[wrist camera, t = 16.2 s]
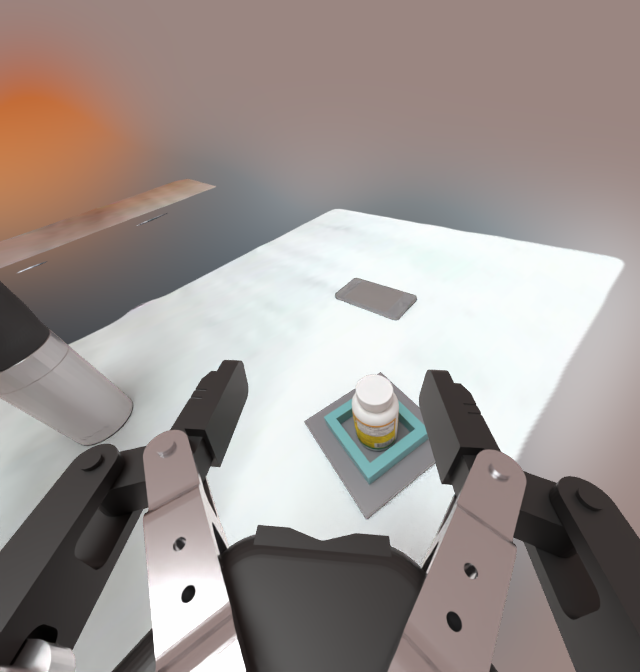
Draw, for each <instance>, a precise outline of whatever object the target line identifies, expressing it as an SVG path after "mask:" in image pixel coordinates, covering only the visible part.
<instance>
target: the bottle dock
mask: <svg viewBox="0 0 640 672" xmlns="http://www.w3.org/2000/svg"><path fill="white" fill-rule="evenodd" d="M377 375H380V376H383V377H385V376H384V375H383V374H382V373H381V372H380V373H379V374H377ZM385 378H386V377H385ZM386 379H387V378H386ZM388 380H389V379H388ZM389 381H390V380H389ZM390 383H391V384H392V386H393V392H394V393H395V395H396V397H397V399H398V402H399V413H398V429H397V438H396V440H395V442H394V444H393V445H392V446H391V447H390V448H388V449H386V450H383V451H373V450H370V449H368V448H366V447H364V446H363V445H362V444H361V443H360V442H359V440H358V438H357V435H356V430H355V424H354V418H353V411H352V398H353V396H354V394H355V392H356V388H355V389H354V390H352V391H351V392H349V393H348V394H346V395H344V396H343V397H341V398H340V399H338V400H337V401H335V402H334V403H332V404H330V405H329V406H327V407H326V408H324V409H323V410H321V411H320V412H318V413H317V414H315V415H313V416H312V417H310V418H309V419H307V420H306V421H304V422H305V424H306V426H307V427H308V429H309V430H310V432H311V433H312V435H313V437H314V438H315V440H316V441H317V443H318V444H319V446H320V448H321V449H322V451H323V452H324V454H325V455H326V457H327V459H328V460H329V462H330V463H331V465H332V466H333V468H334V469H335V471H336V473H337V474H338V476H339V477H340V479H341V480H342V482H343V484H344V485H345V487H346V488H347V490H348V491H349V493H350V495H351V496H352V498H353V499H354V501H355V502H356V504H357V505H358V507H359V509H360V510H361V512H362V513H363V515H364V516H365V518H366V519H368V518H369V517H370V516H371V515H372V514H374V513H375V512H376V511H377V510H379V509H380V508H381V507H382V506H383V505H385V504H386V503H387V502H388V501H389V500H391V499H392V498H393V497H394V496H396V495H397V494H398V493H399V492H400V491H402V490H403V489H404V488H405V487H406V486H408V485H409V484H410V483H411V482H412V481H414V480H415V479H416V478H417V477H419V476H420V475H421V474H422V473H423V472H425V471H426V470H427V469H428V468H429V467H431V466H432V465H433V464H434V463H435V459H434V456H433V452H432V449H431V445H430V442H429V438H428V435H427V432H426V428H425V425H424V421H423V418H422V414H421V411H420V408H419V407H418V406H417V405H416V404H415V403H414V402H413V401H412V400H410V399H409V398H408V397H407V396H406V395H405V394H404V393H403V392H402V391H401V390H400V389H398V388H397V387H396V386H395V385H394V384H393V383H392V382H391V381H390Z"/></svg>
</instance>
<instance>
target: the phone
mask: <svg viewBox="0 0 640 672" xmlns="http://www.w3.org/2000/svg"><path fill="white" fill-rule="evenodd" d="M335 298H336V299H339V300H341V301H344V302H347V303H349V304H352V305H355V306H357V307H360V308H362V309H365V310H368V311H370V312H373V313H376V314H378V315H381V316H384V317H386V318H389V319H392V320H399V319H400V317H401V316H403V314H404V312H405V311H406V310H407V309H408V308H409V307H410V306H411V305H413V304H414V303H415V302H416V300H417V297H416V295H413V294H410V293H406V292H403V291H399V290H396V289H393V288H389V287H386V286H383V285H379V284H376V283H373V282H369V281H366V280H363V279H359V278H354V279H353V280H351V281H350V282H349V283H348V284H347V285H345V286H344V287H343V288H342V289H340V290H339V291H338V292H337V293H336V294H335Z"/></svg>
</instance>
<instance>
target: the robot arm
mask: <svg viewBox="0 0 640 672" xmlns="http://www.w3.org/2000/svg"><path fill="white" fill-rule="evenodd" d="M247 396H248V383H247V378H246V374H245V369H244V365H243V362H242V361H237V360H224V361H223V362H222V363H221V365H220V367H219V369H218V370H217V371H211V372H210V373H208V374H207V375H206V376H205V377H204V378H202V379H201V381H200V383H199V384H198V386H197V387H196V391H194V392H193V394H192V396H191V399H189V400H188V402H187V404H186V405H185V407H184V408H183V410H182V412H181V413H180V415H179V417H178V418H177V420H176V421H175V423H174V425H173V426H172V428H171V429H170V430H169V431H166V432H163V433H161V434H159V435H158V436H156V437H155V438H154V439H152V440H151V441H150V442H149V444H148V445H147V446H144V447H139V448H135V449H131V450H126V451H122V452H119V451H118V449H117V448H116V447H115V446H114V445H111V444H101V445H97V446H95V447H92V448H90V449H88V450H86V451H85V452H83V453H82V454H80V455H79V456H78V457H77V458H76V459H75V460H74V461H73V462H72V463H71V464H70V466H69V467H68V468H67V469H66V471H65V472H64V473H63V474H62V475H61V477H60V478H59V479H58V480H57V482H56V483H55V484H54V485H53V487H52V488H51V489H50V490H49V492H48V493H47V494H46V495H45V497H44V498H43V499H42V500H41V502H40V503H39V504H38V505H37V507H36V508H35V509H34V510H33V512H32V513H31V514H30V515H29V516H28V518H27V519H26V520H25V521H24V523H23V524H22V525H21V526H20V528H19V529H18V530H17V531H16V533H15V534H14V535H13V536H12V538H11V539H10V540H9V541H8V543H7V544H6V545H5V546H4V548H3V549H2V550H1V551H0V672H75V668H76V660H75V655H74V653H73V651H72V650H73V648H74V646H75V644H76V642H77V640H78V638H79V636H80V634H81V632H82V630H83V628H84V626H85V624H86V622H87V620H88V618H89V616H90V614H91V612H92V610H93V608H94V606H95V604H96V602H97V600H98V598H99V596H100V594H101V592H102V590H103V588H104V586H105V584H106V582H107V580H108V578H109V576H110V574H111V572H112V570H113V568H114V566H115V564H116V562H117V560H118V558H119V556H120V554H121V552H122V550H123V548H124V546H125V544H126V542H127V540H128V538H129V536H130V534H131V532H132V530H133V528H134V526H135V524H136V522H137V520H138V519H139V517H140V515H141V513H142V511H143V509H145V508H148V507H149V509H148V512H147V513H145V514H144V517H143V528H144V539H145V550H146V561H147V572H148V583H149V594H150V604H151V615H152V626H153V628H152V629H151V630H150V631H149V632H148V633H147V634H146V635H145V636H144V637H143V638H142V639H141V640H140V642H139V643H138V644H137V645H136V646H135V647H134V648H133V649H132V650H131V651H130V652H129V653H128V655H127V656H126V657H125V658H124V659H123V660H122V661H121V662H120V663H119V664H118V665H117V666H116V667H115V669H114V670H113V671H112V672H498V671H497V670H496V669H495V667H494V666H493V665H492V663H491V662H492V658H493V653H494V649H495V645H496V640H497V636H498V632H499V627H500V623H501V619H502V614H503V610H504V606H505V601H506V597H507V593H508V588H509V584H510V580H511V575H512V571H513V567H514V562H515V558H516V551H517V550H516V545H515V544H514V543H513V537H514V538H516V539H519V540H521V541H523V542H524V544H525V546H526V549H527V551H528V554H529V556H530V559H531V561H532V564H533V566H534V569H535V571H536V573H537V576H538V578H539V581H540V583H541V586H542V588H543V591H544V593H545V596H546V598H547V601H548V603H549V606H550V608H551V611H552V613H553V615H554V618H555V621H556V623H557V625H558V628H559V631H560V633H561V636H562V638H563V641H564V643H565V645H566V648H567V650H568V653H569V655H570V658H571V660H572V663H573V665H574V667H575V670H576V672H640V539H639V537H638V536H637V535H636V533H635V532H634V530H633V529H632V527H631V526H630V525H629V523H628V522H627V520H626V519H625V518H624V516H623V515H622V513H621V512H620V510H619V509H618V508H617V506H616V505H615V503H614V502H613V501H612V500H611V499H610V497H609V496H608V495H607V494H605V493H604V492H603V491H602V490H601V489H599V488H598V487H596V486H595V485H593V484H592V483H590V482H588V481H585V480H583V479H581V478H577V477H571V476H568V477H564V478H562V479H561V480H560V481H559V482H558V483H555V482H552V481H549V480H547V479H544V478H540V477H538V476H535V475H532V474H529V473H527V472H524V471H523V470H522V468H521V467H520V466H519V465H518V464H517V463H516V462H515V461H514V460H513V459H512V458H511V457H509V456H507V455H506V454H504V453H502V452H501V451H500V449H499V447H498V445H497V443H496V442H495V440H494V438H493V436H492V434H491V432H490V430H489V428H488V426H487V424H486V422H485V420H484V418H483V416H482V415H481V412H480V410H479V409H478V407H477V406H476V403H475V401H474V399H473V397H472V395H471V393H470V392H469V391H468V390H467V389H466V388H465V387H464V386H463V385H462V384H459V383H454V382H453V380H452V378H451V376H450V374H449V372H448V371H446V370H427V372H426V375H425V378H424V382H423V385H422V388H421V392H420V396H419V407H420V411H421V414H422V418H423V421H424V425H425V428H426V432H427V435H428V438H429V442H430V445H431V449H432V452H433V456H434V459H435V463H436V466H437V470H438V473H439V476H440V480H441V483H442V484H449V485H453V489H454V492H455V494H454V496H453V498H452V500H451V502H450V505H449V507H448V509H447V511H446V513H445V516H444V518H443V520H442V522H441V525H440V527H439V529H438V531H437V533H436V536H435V538H434V540H433V542H432V544H431V546H430V548H429V550H428V552H427V554H426V556H425V558H424V560H423V562H422V564H421V567H420V566H419V565H418V564H417V563H415V562H414V561H413V560H412V559H411V558H410V557H408V556H407V555H405V554H404V553H402V552H401V551H399V550H397V549H395V548H393V547H391V546H390V540H389V536H381V535H369V534H357V533H356V534H351V535H347V536H342V537H338V538H334V539H329V540H325V541H321V540H318V539H315V538H313V537H310V536H308V535H306V534H303V533H301V532H298V531H296V530H294V529H291V528H287V527H275V526H263V525H258V527H257V531H256V535H252V536H249V537H247V538H244V539H242V540H240V541H238V542H236V543H235V544H233V545H232V546H230V547H229V544H228V541H227V538H226V536H225V533H224V530H223V528H222V525H221V522H220V519H219V516H218V513H217V509H216V506H215V503H214V499H213V496H212V493H211V489H210V486H209V483H208V479H207V477H206V475H207V473H208V471H209V468H210V466H212V467H220V466H221V463H222V461H223V458H224V456H225V453H226V451H227V448H228V446H229V443H230V440H231V438H232V435H233V433H234V430H235V428H236V425H237V423H238V420H239V417H240V415H241V412H242V410H243V407H244V405H245V402H246V399H247ZM0 398H1V399H3V400H4V401H6V402H8V403H10V404H11V405H13V406H15V407H17V408H18V409H20V410H22V411H24V412H25V413H27V414H29V415H31V416H32V417H34V418H36V419H37V420H39V421H41V422H43V423H44V424H46V425H48V426H50V427H51V428H53V429H55V430H57V431H58V432H60V433H62V434H63V435H65V436H67V437H69V438H71V439H72V440H74V441H76V442H78V443H79V444H81V445H92V444H95V443H98V442H100V441H103V440H104V439H106V438H108V437H109V436H111V435H112V434H113V433H115V432H116V431H117V430H118V429H119V428H120V427H121V426H122V425H123V424H124V423H125V422H126V420H127V419H128V417H129V416H130V413H131V411H132V407H133V405H132V401H131V399H130V398H129V397H127V396H126V395H125V394H124V393H123V392H122V391H121V390H120V389H119V388H118V387H116V386H115V385H114V384H113V383H112V382H111V381H109V380H108V379H107V378H106V377H105V376H104V375H103V374H101V373H100V372H99V371H98V370H97V369H96V368H94V367H93V366H92V365H91V364H90V363H89V362H87V361H86V360H85V359H84V358H82V357H81V356H80V355H79V354H78V353H77V352H76V351H74V350H73V349H72V348H71V347H70V346H69V345H67V344H66V343H65V342H64V341H63V340H61V339H60V338H59V337H58V336H57V335H56V334H54V333H53V332H52V331H51V330H50V329H49V328H48V327H46V326H45V325H44V324H43V323H42V322H41V321H40V320H39V319H38V318H37V317H36V316H35V315H34V313H33V312H32V311H31V310H30V309H29V308H28V307H27V306H26V305H25V304H24V303H23V302H22V301H21V300H20V299H19V298H18V297H17V296H16V295H15V294H13V293H12V292H11V291H10V290H9V289H8V288H7V287H6V286H5V285H4V284H3V283H2V282H1V281H0Z"/></svg>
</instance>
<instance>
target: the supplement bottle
mask: <svg viewBox="0 0 640 672" xmlns="http://www.w3.org/2000/svg"><path fill="white" fill-rule="evenodd" d="M352 411H353V418H354V424H355V430H356V435H357V438H358V440H359V442H360V443H361V444H362V445H363V446H364V447H366V448H368V449H370V450H373V451H383V450H386V449H388V448H390V447H391V446H392V445H393V444H394V442H395V440H396V438H397V429H398V413H399V402H398V399H397V397H396V395H395V393H394V392H393V386H392V384H391V383H390V381H389V380H388V379H386V378H385V377H383V376H380V375H367V376H365V377H363V378H361V379H360V380H359V381H358V383H357V385H356V392H355V394H354V396H353V398H352Z"/></svg>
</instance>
